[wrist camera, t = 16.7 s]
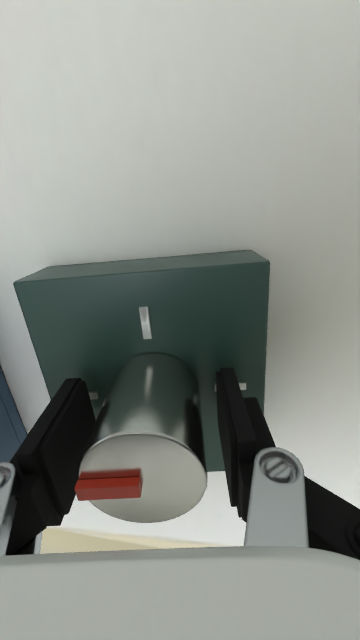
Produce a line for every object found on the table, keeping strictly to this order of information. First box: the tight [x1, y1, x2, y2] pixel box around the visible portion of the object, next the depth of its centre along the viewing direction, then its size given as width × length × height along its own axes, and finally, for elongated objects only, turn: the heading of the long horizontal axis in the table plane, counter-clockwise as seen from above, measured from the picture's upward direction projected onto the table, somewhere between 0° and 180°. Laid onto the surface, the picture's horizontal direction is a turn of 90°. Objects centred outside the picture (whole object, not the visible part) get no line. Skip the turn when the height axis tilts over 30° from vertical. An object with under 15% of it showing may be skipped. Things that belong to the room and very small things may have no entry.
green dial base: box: [13, 250, 270, 472], centre depth 14 cm, size 10×11×3 cm
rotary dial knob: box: [75, 353, 207, 523], centre depth 10 cm, size 4×4×5 cm
